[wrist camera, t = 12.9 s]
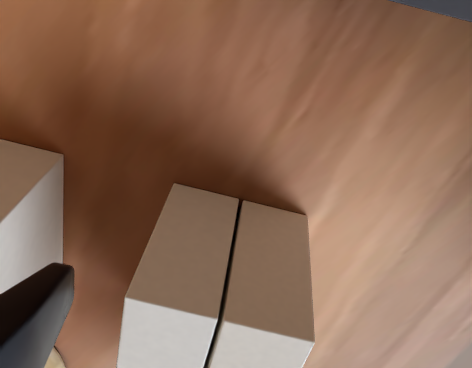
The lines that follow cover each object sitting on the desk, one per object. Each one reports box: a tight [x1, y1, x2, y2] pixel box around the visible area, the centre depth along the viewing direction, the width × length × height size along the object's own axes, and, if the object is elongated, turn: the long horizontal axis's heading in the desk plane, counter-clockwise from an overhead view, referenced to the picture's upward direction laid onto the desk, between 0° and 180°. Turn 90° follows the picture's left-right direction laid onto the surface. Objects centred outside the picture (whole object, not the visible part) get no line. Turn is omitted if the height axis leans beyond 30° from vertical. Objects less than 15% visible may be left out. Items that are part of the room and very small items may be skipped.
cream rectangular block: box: [203, 200, 315, 368], centre depth 22 cm, size 4×9×8 cm, turn 167°
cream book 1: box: [116, 183, 239, 368], centre depth 22 cm, size 4×9×8 cm, turn 167°
